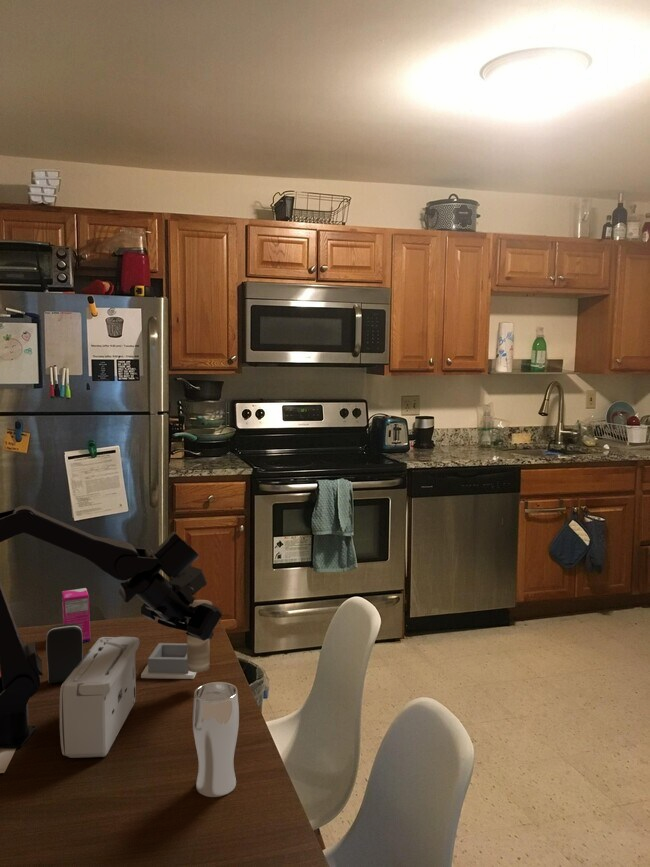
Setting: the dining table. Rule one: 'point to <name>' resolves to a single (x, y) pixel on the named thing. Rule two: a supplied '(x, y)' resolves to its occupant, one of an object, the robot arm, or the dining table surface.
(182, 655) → the plate
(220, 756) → the beer glass
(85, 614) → the supplement box
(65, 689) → the stereo radio cassette player
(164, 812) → the dining table surface
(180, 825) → the dining table surface
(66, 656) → the battery charger
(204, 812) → the dining table surface
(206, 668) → the maple knob
